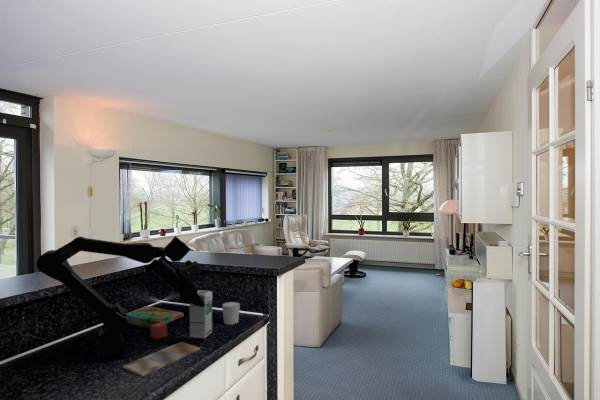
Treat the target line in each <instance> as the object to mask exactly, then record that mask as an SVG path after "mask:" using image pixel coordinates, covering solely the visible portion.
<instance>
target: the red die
mask: <svg viewBox="0 0 600 400" xmlns="http://www.w3.org/2000/svg"><path fill="white" fill-rule="evenodd" d="M167 327H168V324H167V325H166V324H164V323H162V322H160V323H156V324H152V325H151V328H150V337H151V338H152V339H154V340H158V339H162V338H165V337H166V338H167V337H168V328H167Z"/></svg>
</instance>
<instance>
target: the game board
mask: <svg viewBox="0 0 600 400" xmlns="http://www.w3.org/2000/svg"><path fill="white" fill-rule="evenodd" d="M199 350H201V347H200V346H199V347H198V346H196V345H192V344H189V343H186V342H183V341H180V342H177V343H175V344H173V345H170V346H167V347H165V348H162V349H160V350H159V351H156V352H153V353H151V354H149V355H145V356H143V357H142V358H139V359H136V360H134V361H131V362H129V363H127V364H124V365H123V366H122V368H123V369H124V370H127V371H129V372H132V373H134V374H136V375H139V376H141V377H145V376H146V375H149V374H152V373H153V372H155V371H157V370H159V369H162V368H163V367H166V366H168V365H170V364H172V363H174V362H177V361H178V360H182V359H183V358H185V357H187V356H189V355H192V354H194V353H196V352H198V351H199Z"/></svg>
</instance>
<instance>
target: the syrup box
mask: <svg viewBox="0 0 600 400" xmlns="http://www.w3.org/2000/svg"><path fill="white" fill-rule="evenodd" d="M197 293H198V295H199V296H200V298H201V299H202V300H203V302H204V303H205V306H204V307H201V306H197V305H194V304H190V303H189V337H191V338H197V339H206V338H207V337H208V336H210V334H212V333H213V291H212V290H205V289H204V290H202V289H200V290H199V289H198V291H197Z"/></svg>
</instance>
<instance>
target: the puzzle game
mask: <svg viewBox="0 0 600 400" xmlns="http://www.w3.org/2000/svg"><path fill="white" fill-rule="evenodd" d="M126 313H127V316H128V325H133V326H138V327H142V328H147V329H151V325H152V324H156V323H160V322H162V323H164V324H166V325H167V326H168V325H169V324H171V323H174V322H175V320H177V319H180V318H182V317H184V316H185V314H184V312H180V311H175V310H169V309H163V308H159V307H154V306H148V305H147V306H144V307H141V308H138V309H135V310H132V311H129V312H126Z"/></svg>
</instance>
